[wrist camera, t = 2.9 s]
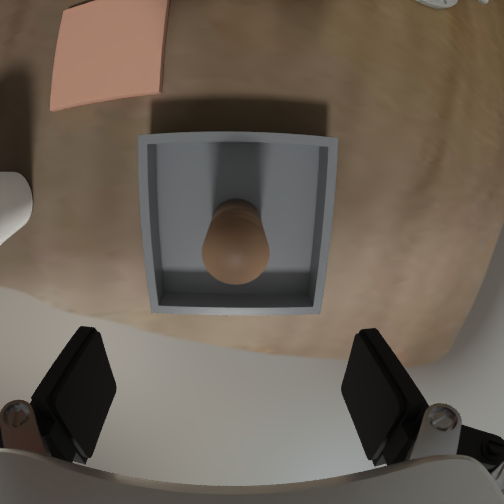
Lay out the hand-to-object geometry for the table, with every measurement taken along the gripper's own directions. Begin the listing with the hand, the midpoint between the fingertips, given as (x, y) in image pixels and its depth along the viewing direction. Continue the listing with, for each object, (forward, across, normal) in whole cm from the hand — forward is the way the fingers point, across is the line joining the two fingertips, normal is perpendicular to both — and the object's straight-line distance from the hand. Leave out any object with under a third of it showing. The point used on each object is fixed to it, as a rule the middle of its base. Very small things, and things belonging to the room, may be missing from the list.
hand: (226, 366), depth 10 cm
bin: (+19, 0, -1) cm, 19 cm away
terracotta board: (+19, +12, -19) cm, 29 cm away
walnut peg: (+18, 0, -1) cm, 18 cm away
